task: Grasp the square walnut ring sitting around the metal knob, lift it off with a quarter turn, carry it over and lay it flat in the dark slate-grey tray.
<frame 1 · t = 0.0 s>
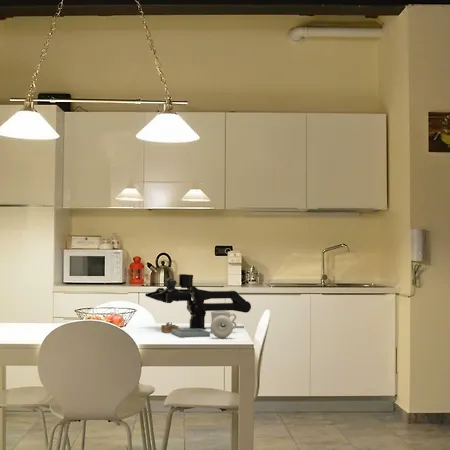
hand: (147, 295, 320), 17 cm above the table, tool horizontal, fingers open, 9 cm apart
tray: (190, 335, 303), on the table
ring: (169, 332, 313), on the table
mug: (223, 333, 314), on the table
metal knob: (169, 332, 313), on the table
grey wheel: (221, 338, 293), on the table
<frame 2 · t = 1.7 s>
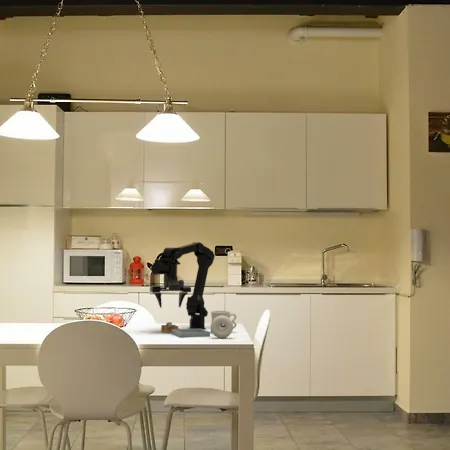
hand: (170, 307, 313), 11 cm above the table, tool pointing down, fingers open, 9 cm apart
nothing on the table moved.
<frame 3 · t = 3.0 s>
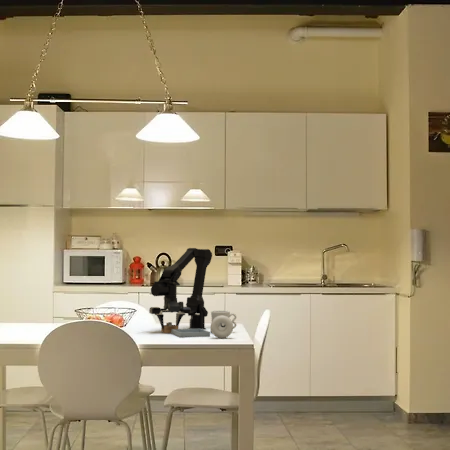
hand: (169, 328, 313), 2 cm above the table, tool pointing down, fingers closed on ring, 6 cm apart
ring: (169, 332, 313), on the table, touching gripper
everything else where it was.
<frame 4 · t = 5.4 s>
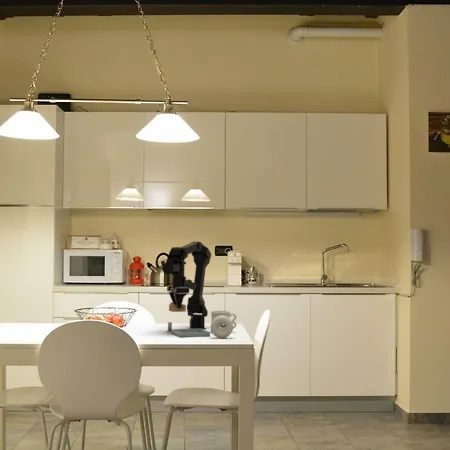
hand: (177, 307, 309), 12 cm above the table, tool pointing down, fingers closed on ring, 6 cm apart
ring: (177, 311, 309), point 10 cm above the table, touching gripper
everything else where it was.
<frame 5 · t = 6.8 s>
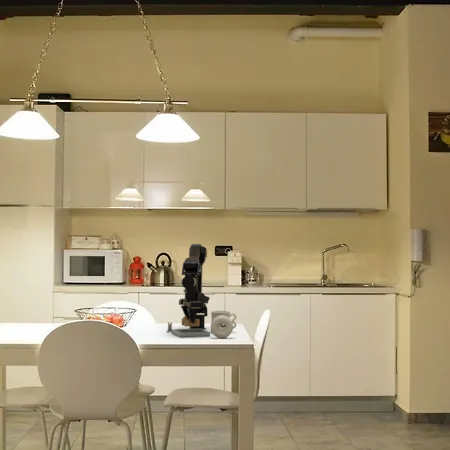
hand: (190, 322, 303), 6 cm above the table, tool pointing down, fingers closed on ring, 6 cm apart
ring: (190, 325, 303), point 4 cm above the table, touching gripper
everything else where it was.
when the fingers open (3 cm above the table, at t = 7.8 s): ring stays where it is, resting on tray.
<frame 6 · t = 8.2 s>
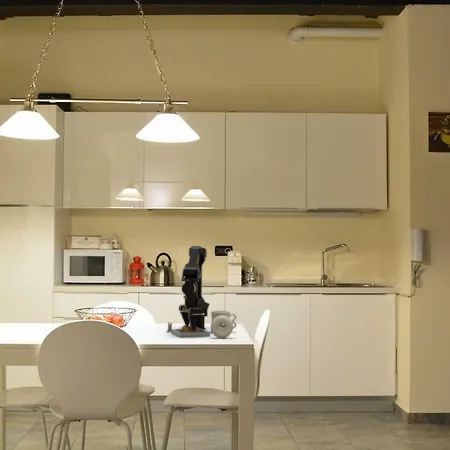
hand: (190, 328, 303), 3 cm above the table, tool pointing down, fingers open, 9 cm apart
ring: (190, 333, 303), resting on tray
everything else where it was.
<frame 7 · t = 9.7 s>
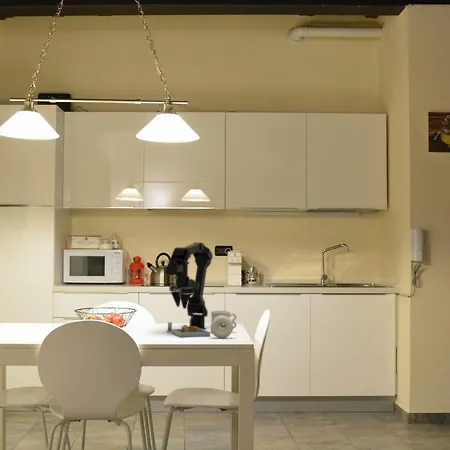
hand: (181, 307, 312), 12 cm above the table, tool pointing down, fingers open, 9 cm apart
nothing on the table moved.
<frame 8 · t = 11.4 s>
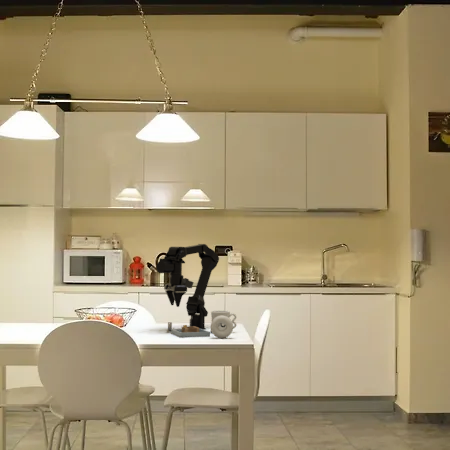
hand: (175, 305, 316), 12 cm above the table, tool pointing down, fingers open, 9 cm apart
nothing on the table moved.
at the end: ring inside the target area on the tray (0.1 cm from its centre), point 0.5 cm above the tray's base; ring tilted 0°; the gripper is holding nothing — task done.
